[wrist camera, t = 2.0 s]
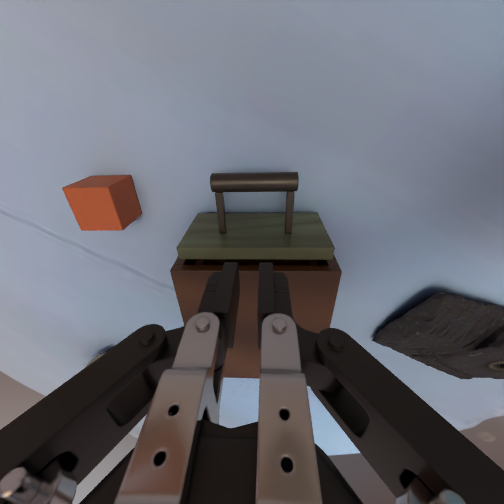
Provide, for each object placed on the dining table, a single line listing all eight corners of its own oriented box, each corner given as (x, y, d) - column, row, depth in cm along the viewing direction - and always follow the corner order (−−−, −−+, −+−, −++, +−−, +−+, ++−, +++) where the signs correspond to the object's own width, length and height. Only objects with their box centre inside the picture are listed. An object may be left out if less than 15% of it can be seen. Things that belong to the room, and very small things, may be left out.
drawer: (189, 162, 23) (161, 183, 17) (324, 160, 23) (347, 181, 16) (212, 308, 34) (200, 354, 28) (305, 309, 33) (314, 357, 27)
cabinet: (196, 223, 28) (169, 270, 20) (319, 222, 27) (342, 271, 19) (212, 317, 36) (197, 376, 28) (306, 319, 35) (318, 380, 28)
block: (91, 175, 25) (61, 187, 22) (131, 174, 25) (107, 187, 21) (105, 213, 28) (81, 230, 24) (142, 213, 27) (123, 230, 24)
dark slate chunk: (443, 266, 29) (471, 292, 25) (557, 324, 34) (597, 354, 30) (362, 337, 37) (373, 365, 33) (463, 377, 41) (485, 406, 37)
